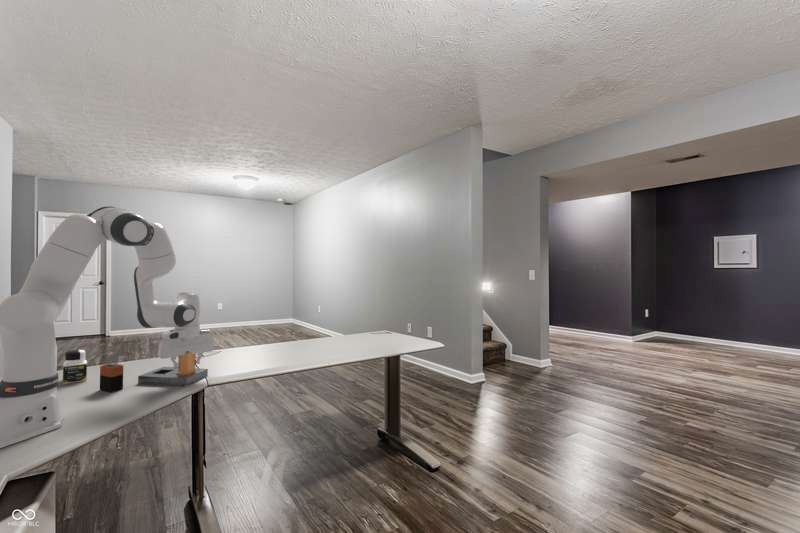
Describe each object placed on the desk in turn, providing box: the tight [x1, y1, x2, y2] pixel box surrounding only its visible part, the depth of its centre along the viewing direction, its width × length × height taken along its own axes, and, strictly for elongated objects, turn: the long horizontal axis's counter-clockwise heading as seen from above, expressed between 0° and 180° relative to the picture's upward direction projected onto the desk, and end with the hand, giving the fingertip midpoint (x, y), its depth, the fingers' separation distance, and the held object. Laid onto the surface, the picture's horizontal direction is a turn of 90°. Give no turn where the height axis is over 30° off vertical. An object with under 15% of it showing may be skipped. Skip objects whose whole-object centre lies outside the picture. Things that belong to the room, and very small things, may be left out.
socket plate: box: [137, 366, 209, 386], centre depth 153 cm, size 14×20×3 cm
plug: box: [177, 351, 197, 375], centre depth 153 cm, size 5×4×10 cm
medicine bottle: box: [62, 349, 88, 385], centre depth 149 cm, size 7×7×12 cm
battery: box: [99, 361, 124, 393], centre depth 139 cm, size 4×7×10 cm, turn 70°
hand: (186, 365), depth 153 cm, fingers closed on plug, 6 cm apart
